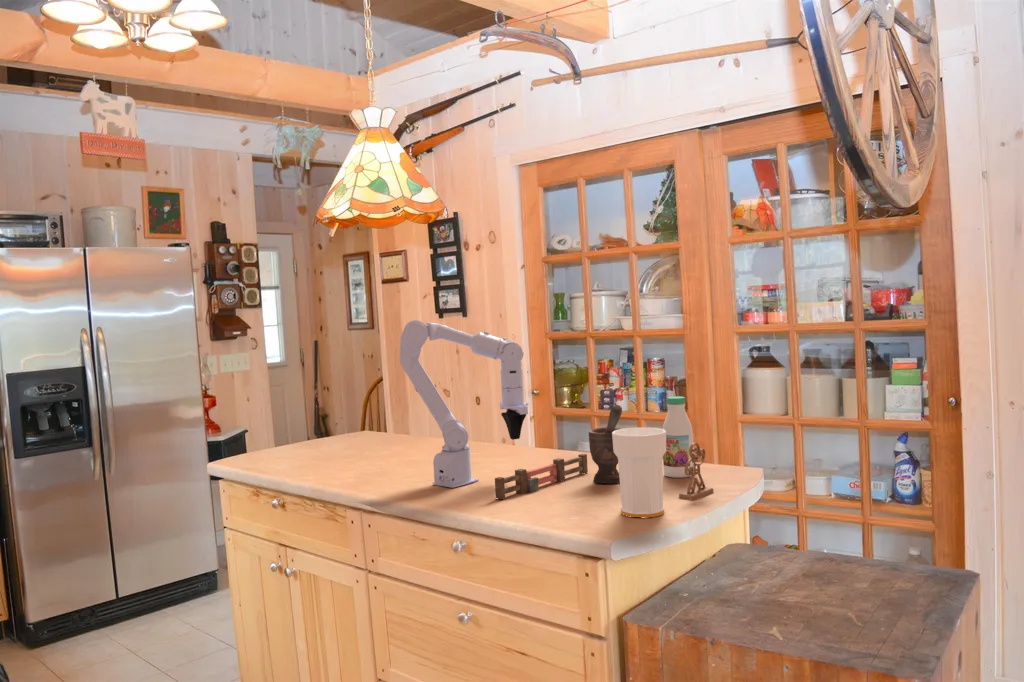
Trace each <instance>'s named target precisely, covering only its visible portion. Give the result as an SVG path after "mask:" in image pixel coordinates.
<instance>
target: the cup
mask: <svg viewBox="0 0 1024 682" xmlns="http://www.w3.org/2000/svg"><path fill="white" fill-rule="evenodd" d="M612 439H613V451H614V453H615V455H616V456H617V457H618V464H617V465H618V472H619V478H620V483H619V487H620V489H619V490H620V501H621V508H620V514H621V515H622V514H624V515H627V516H631V517H653V518H655V517H654V516H658V517H660V516H659V515H661V516H663V515H664V514H665V507H664V496H663V495H664V494H663V493H664V490H663V489H664V488H663V487H664V486H663V485H664V484H663V483H664V482H663V480H664V479H663V455H664V453H665V452H666V431H665V430H664V429H663V428H659V427H648V426H647V427H643V426H642V427H641V426H640V427H626V428H621V429H619V430H615V431H613V432H612ZM663 513H664V514H663ZM662 514H663V515H662ZM624 515H623V516H624ZM627 516H626V517H627ZM631 517H630V518H631Z"/></svg>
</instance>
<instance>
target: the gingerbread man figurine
mask: <svg viewBox="0 0 1024 682" xmlns="http://www.w3.org/2000/svg"><path fill="white" fill-rule="evenodd" d="M693 446H696V447H694V449H693ZM692 452H694V454H693V453H692ZM689 454H690V457H691V459H689V460H688V461H687V463H686V465H685V475H688V476H690V475H691V477H689V478H690V479H689V481H688V485H687V490H686V491H683V492H681V493H679V494H678V498H679V499H681V498H684V499H683V500H687V499H691V500H690V501H696V500H698V499H701V498H703V497H706V496H709V495H711V494H713V493H714V488H713V487H708V486H706V484H705V481H704V479H703V477H702V474H701V465H702V464H704V462H705V459H706V451H705V448H701V447H700V444H699V443H697V442H693V443H692V444H691V446H690V449H689ZM700 458H701V459H700ZM699 459H700V461H699ZM691 461H692V463H694V464H693V465H694V467H693V466H690V467H689V469H688V465H689V463H690V462H691ZM688 471H689V472H688ZM695 476H698V478H699V479H698V478H697V477H695ZM699 481H700V482H699ZM696 486H697V487H696ZM712 492H713V493H712ZM710 493H711V494H710ZM708 494H709V495H708ZM705 495H706V496H705ZM702 496H703V497H702ZM700 497H701V498H700ZM697 498H698V499H697ZM695 499H696V500H695Z"/></svg>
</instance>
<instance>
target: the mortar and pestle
mask: <svg viewBox="0 0 1024 682" xmlns="http://www.w3.org/2000/svg"><path fill="white" fill-rule="evenodd" d="M622 412H623V408H622V406H621V405H618V404H614V405H612V407H611V408H610V411H609V416H608V421H607V425H606V426H603V427H602V426H601V427H595V428H591V429H589V430H588V442H589V452H590V456H591V458H592V461H593V462H594V463H595V464H596V466H597V467H598V470H597V472H596V473H595V474H594V477H593V480H592V481H593V483H595V484H606V485H607V484H611V485H612V484H613V485H614V484H620V478H619V470H618V469H617V465H618V457H617V456H616V455H615V453H614V451H613V439H612V432H613V431H615V430H619V429H622V428H620V427H617V425H618V423H619V421H620V418H621V416H622V414H623V413H622Z"/></svg>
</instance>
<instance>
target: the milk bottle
mask: <svg viewBox="0 0 1024 682" xmlns="http://www.w3.org/2000/svg"><path fill="white" fill-rule="evenodd" d="M666 407H667V414H666V417H665V420H664V422H663V425H662V429H664V430H665V431H666V452H665V453H664V455H663V456H662V466H663V474H664V476H666V477H668V478H675V479H677V478H679V479H682V478H691V475H690V476H688V475H685V465H686V463H687V461H688V460H689V459H691V457H690V454H689V449H690V446H691V444H692V443H694V431H693V425H692V423H691V421H690V419H689V417H688V415H687V411H686V408H685V407H686V397H685V396H668V397H666ZM694 446H695V445H694ZM694 446H693V449H694V448H695V447H694ZM692 453H693V454H695V452H692ZM693 464H694V463H692V461H691V462H690V463H689V465H688V469H689V467H690V466H693V467H694V465H693ZM688 472H689V471H688Z"/></svg>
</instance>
